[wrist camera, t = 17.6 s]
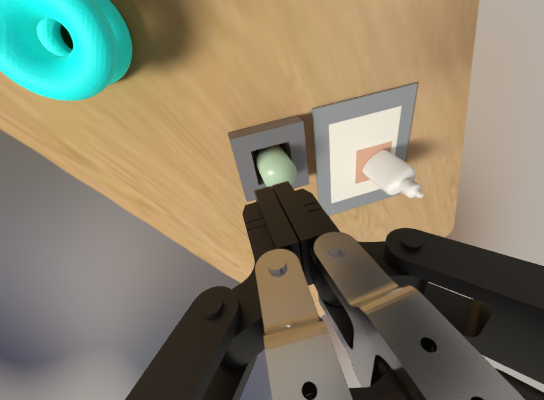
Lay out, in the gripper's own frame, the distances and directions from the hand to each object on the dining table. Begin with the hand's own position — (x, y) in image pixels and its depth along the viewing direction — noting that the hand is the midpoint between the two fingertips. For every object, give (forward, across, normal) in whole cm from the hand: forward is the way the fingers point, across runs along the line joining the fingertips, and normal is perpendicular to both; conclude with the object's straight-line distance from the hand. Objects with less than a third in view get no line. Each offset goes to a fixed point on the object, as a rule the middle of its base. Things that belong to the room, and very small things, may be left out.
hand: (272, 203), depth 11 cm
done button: (+28, -5, +12) cm, 31 cm away
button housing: (+29, -5, +12) cm, 32 cm away
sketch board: (+29, -22, +17) cm, 40 cm away
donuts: (+29, +13, -8) cm, 33 cm away
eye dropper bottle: (+28, -24, +18) cm, 42 cm away
